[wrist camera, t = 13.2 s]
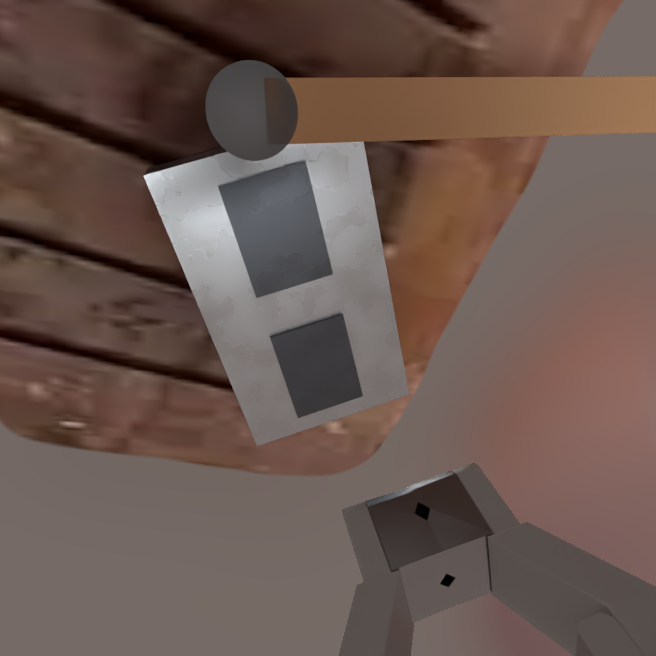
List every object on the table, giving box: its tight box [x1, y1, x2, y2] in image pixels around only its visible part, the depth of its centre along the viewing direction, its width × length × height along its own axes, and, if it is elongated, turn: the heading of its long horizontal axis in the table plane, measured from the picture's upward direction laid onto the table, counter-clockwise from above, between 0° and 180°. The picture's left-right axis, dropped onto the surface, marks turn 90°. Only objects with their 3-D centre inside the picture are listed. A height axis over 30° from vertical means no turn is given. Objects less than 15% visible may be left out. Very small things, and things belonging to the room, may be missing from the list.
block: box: [143, 142, 409, 446], centre depth 29 cm, size 24×12×6 cm, turn 13°
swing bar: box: [205, 60, 656, 161], centre depth 21 cm, size 23×4×2 cm, turn 90°
